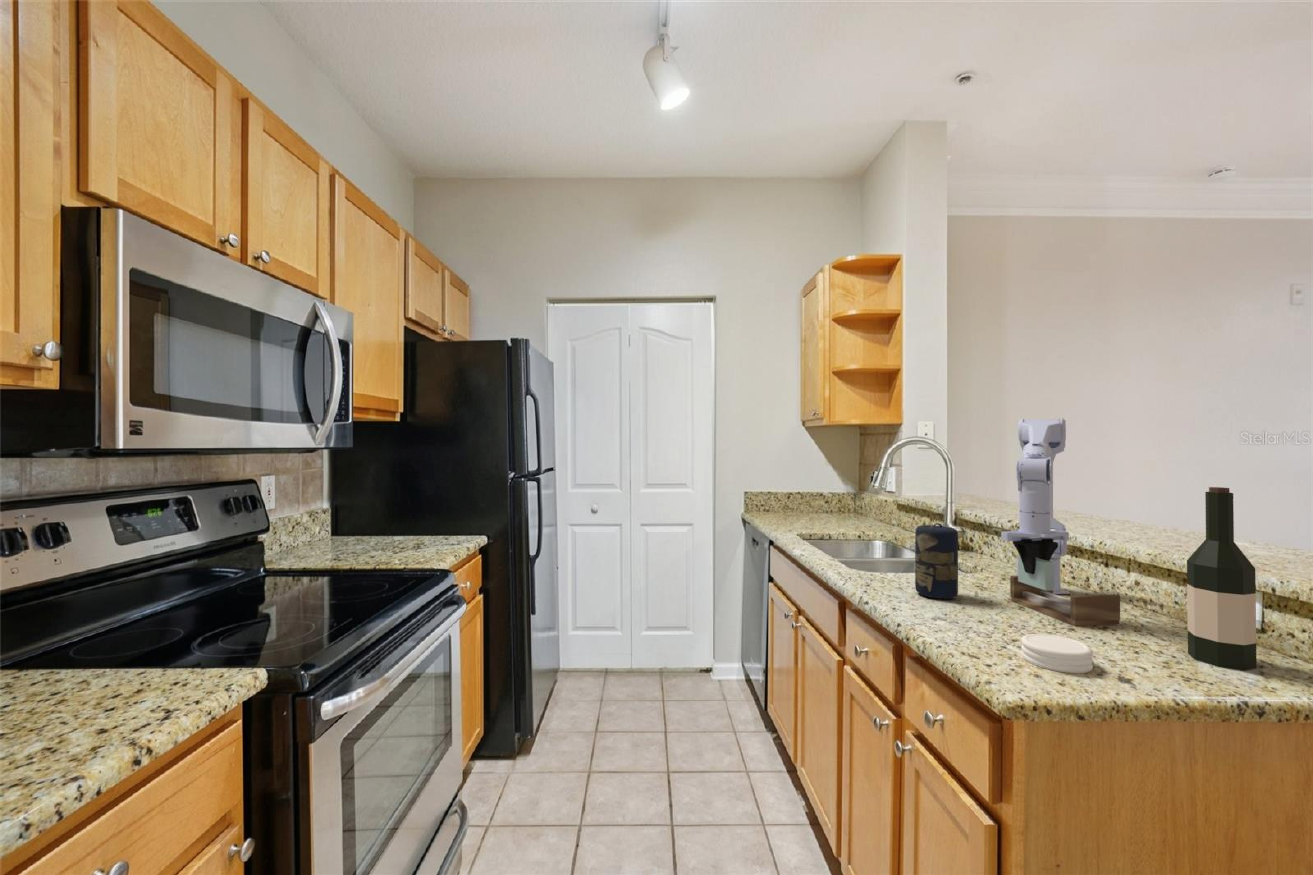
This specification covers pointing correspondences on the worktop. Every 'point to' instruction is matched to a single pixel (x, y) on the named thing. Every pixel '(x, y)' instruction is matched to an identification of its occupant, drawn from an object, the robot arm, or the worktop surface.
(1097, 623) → the track base
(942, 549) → the canister
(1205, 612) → the wine bottle
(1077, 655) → the coaster
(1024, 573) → the door panel
